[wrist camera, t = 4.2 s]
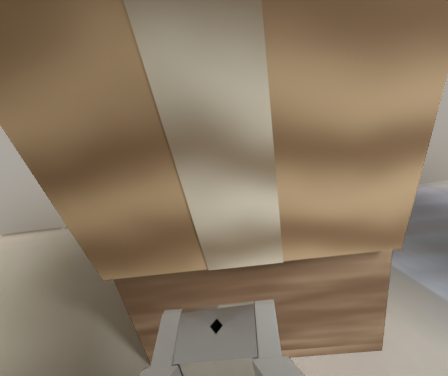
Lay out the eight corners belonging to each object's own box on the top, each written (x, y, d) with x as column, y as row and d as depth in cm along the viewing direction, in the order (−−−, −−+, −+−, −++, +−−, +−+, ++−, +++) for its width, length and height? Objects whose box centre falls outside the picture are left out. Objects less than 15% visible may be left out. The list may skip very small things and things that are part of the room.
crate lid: (394, 234, 22) (402, 250, 21) (107, 266, 24) (102, 281, 23) (480, -140, 11) (507, -146, 10) (-71, -22, 13) (-96, -16, 12)
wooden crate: (382, 350, 28) (393, 237, 22) (152, 367, 30) (108, 268, 24) (328, 224, 44) (327, 139, 38) (180, 241, 46) (157, 163, 40)
